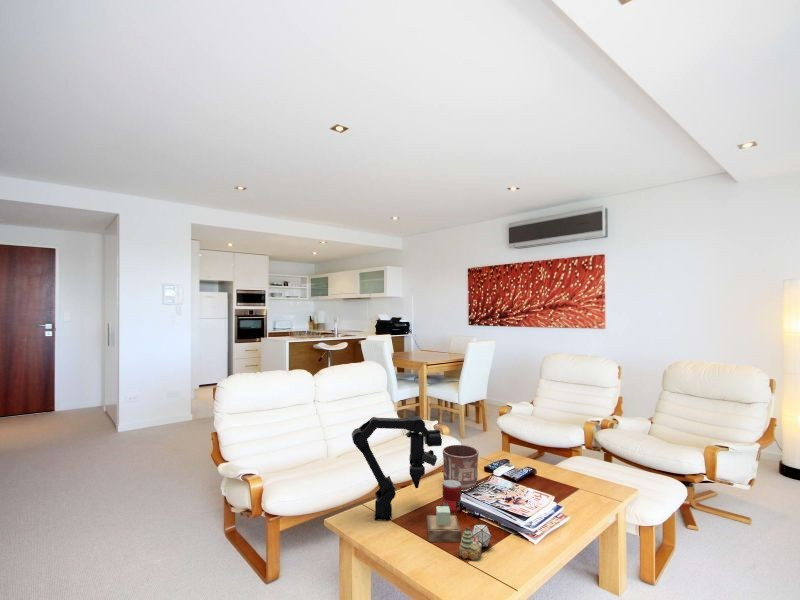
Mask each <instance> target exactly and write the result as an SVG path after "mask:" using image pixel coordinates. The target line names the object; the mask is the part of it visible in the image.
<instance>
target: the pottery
mask: <svg viewBox="0 0 800 600" xmlns="http://www.w3.org/2000/svg"><path fill="white" fill-rule="evenodd" d="M442 459H443V469H442V470H443V474H442V475H443V482H444V481H445V480H456V481H458V482H460V483H461V490H465V489H469V488H472V487H473V488H475V487H476V484H477V483H478V476H479V475H478V474H479V473H478V467H479V466H478V464H479V463H478V462H479V451H478V449H476V448H474V447H472V446H470V445H466V444H465V445H464V444H452V445H448V446H445V447H443V449H442ZM474 486H475V487H474ZM473 488H472V489H473Z"/></svg>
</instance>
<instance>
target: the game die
mask: <svg viewBox="0 0 800 600" xmlns="http://www.w3.org/2000/svg"><path fill="white" fill-rule="evenodd" d="M472 525H473V526H472V529H471V534H472V537H473V538H477V539H478V541H479V543H481V548H482V547H485V548H487V549H489V544H490V542H491V539H493V538H494V536H493V535H492V534H491V533H490V530H489V528H488V522H486V523H485V524H476V523H475V522H472Z"/></svg>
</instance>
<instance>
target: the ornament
mask: <svg viewBox="0 0 800 600" xmlns="http://www.w3.org/2000/svg"><path fill="white" fill-rule="evenodd" d="M471 532H472V530H471V528H470V527H469V526H467V527H465V530H463V533H462V536H461V542H459V543H460V544H459V547H458V556H459V558H460V557H461V558H462V559H470V560H471V561H477V560H479V558H481V553H482V547H481V543H479V541H478V539H477V538H473V537H472V534H471Z"/></svg>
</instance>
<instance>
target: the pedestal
mask: <svg viewBox="0 0 800 600" xmlns="http://www.w3.org/2000/svg"><path fill="white" fill-rule="evenodd" d="M426 531H427V537H428V538H427V539H428V542H434V543H437V542H438V543H441V542H443V543H444V542H445V543H447V542H448V543H449V542H450V543H452V542H455V543H461V541H462V540H461V538H462V536H461V535H462V533H461V531H462V530H461V527H460V524H459V520H458V517H457V515H450V525H437V521H436V515H432V514H431V515H428V514H427V515H426Z"/></svg>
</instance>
